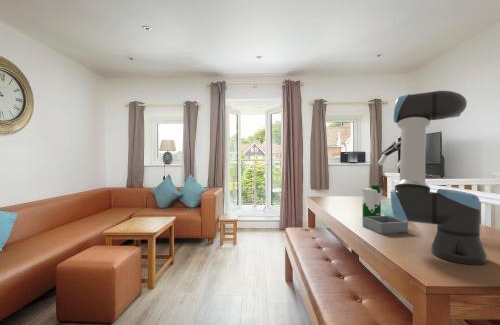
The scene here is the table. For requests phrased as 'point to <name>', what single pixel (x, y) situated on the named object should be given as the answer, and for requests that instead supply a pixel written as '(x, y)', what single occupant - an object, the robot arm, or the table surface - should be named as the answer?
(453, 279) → the table surface
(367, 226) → the tray
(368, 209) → the soya milk
